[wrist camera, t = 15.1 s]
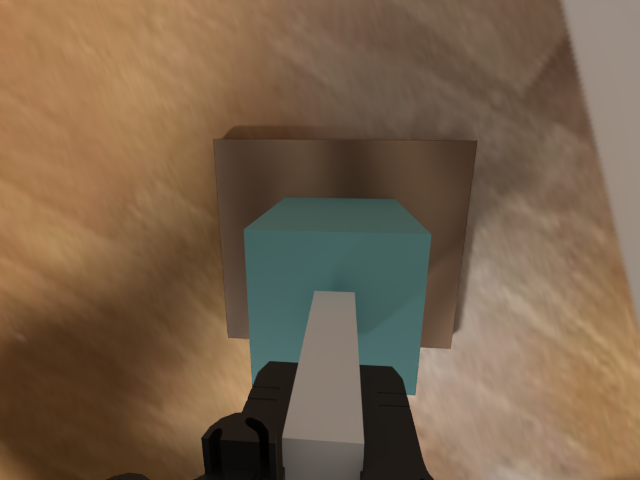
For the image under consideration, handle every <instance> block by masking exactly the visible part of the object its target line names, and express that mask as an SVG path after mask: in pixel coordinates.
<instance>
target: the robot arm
mask: <svg viewBox="0 0 640 480" xmlns="http://www.w3.org/2000/svg"><path fill="white" fill-rule="evenodd" d="M201 440H202V449H203V458H204V467H205V474H204V475H202V476H200V477H198V478H196V479H194V480H434V479H433V478H432V477H431V476H430V474H429V473H428V471H427V469H426V466H425V464H424V461H423V458H422V454H421V450H420V446H419V442H418V438H417V434H416V430H415V426H414V422H413V418H412V414H411V410H410V406H409V402H408V397H407V393H406V389H405V385H404V381H403V379H402V377H401V376H400V375H399V374H398V373H397V371H396V370H395V369H394V368H393V367H392V366H376V365H359V353H358V337H357V321H356V305H355V292H334V291H314V296H313V300H312V305H311V309H310V314H309V318H308V323H307V327H306V332H305V336H304V341H303V345H302V350H301V354H300V359H299V363H297V362H279V361H269V362H268V363H267V364H266V365H265V366H264V367H263V368H262V369H261V370H260V371H259V372H258V373H257V376H256V378H255V381H254V383H253V386H252V389H251V391H250V393H249V396H248V400H247V401H246V403H245V406H244V408H243V411H242V412H241V413H234V414H231V415H229V416H226V417H223V418H221V419H220V420H218V421H217V422H216V423H214V424H213V425H212V426H210V427H209V429H208V430H207V431H206V433H205V434H204V435H203V437H202V438H201ZM107 480H149V479H148V478H146V477H145V476H144V475H142V474H135V473H126V474H122V475H117V476H113V477H111V478H109V479H107Z"/></svg>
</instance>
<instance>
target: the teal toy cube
mask: <svg viewBox="0 0 640 480" xmlns="http://www.w3.org/2000/svg"><path fill="white" fill-rule="evenodd" d="M244 244H245V262H246V281H247V299H248V317H249V336H250V354H251V372H252V386H253V383H254V381H255V378H256V376H257V373H258V372H259V371H260V370H261V369H262V368H263V367H264V366H265V365H266V364H267V363H268V362H269V361H279V362H297V363H299V359H300V354H301V350H302V345H303V341H304V336H305V332H306V327H307V323H308V318H309V314H310V309H311V305H312V300H313V296H314V291H334V292H355V305H356V321H357V337H358V353H359V365H376V366H392V367H393V368H394V369H395V370H396V371H397V373H398V374H399V375H400V376H401V377H402V379H403V381H404V385H405V389H406V393H407V395H415V394H416V384H417V374H418V364H419V354H420V344H421V334H422V324H423V314H424V304H425V294H426V284H427V274H428V264H429V254H430V244H431V233H430V232H428V231H427V230H426V229H425V228H424V227H423V226H422V225H421V224H420V223H419V222H418V221H417V220H416V219H415V218H414V217H413V216H412V215H411V214H410V213H409V212H408V211H407V210H406V209H405V208H404V207H403V206H402V205H401V204H400V203H399V202H398V201H397V200H396V199H355V198H301V197H285V198H284V199H282V200H281V201H280V202H279V203H277V204H276V205H275V206H273V207H272V208H271V209H270V210H268V211H267V212H266V213H264V214H263V215H262V216H261V217H259V218H258V219H257V220H255V221H254V222H253V223H252V224H250V225H249V226H248V227H246V228H245V229H244Z"/></svg>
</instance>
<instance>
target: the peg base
mask: <svg viewBox="0 0 640 480" xmlns="http://www.w3.org/2000/svg"><path fill="white" fill-rule="evenodd" d="M213 143H214V156H215V170H216V183H217V197H218V210H219V224H220V237H221V251H222V264H223V278H224V291H225V305H226V318H227V332H228V338H243V339H250V336H249V317H248V299H247V281H246V262H245V244H244V229H245V228H246V227H248V226H249V225H250V224H252V223H253V222H254V221H255V220H257V219H258V218H259V217H261V216H262V215H263V214H264V213H266V212H267V211H268V210H270V209H271V208H272V207H273V206H275V205H276V204H277V203H279V202H280V201H281V200H282V199H284V198H285V197H301V198H355V199H396V200H397V201H398V202H399V203H400V204H401V205H402V206H403V207H404V208H405V209H406V210H407V211H408V212H409V213H410V214H411V215H412V216H413V217H414V218H415V219H416V220H417V221H418V222H419V223H420V224H421V225H422V226H423V227H424V228H425V229H426V230H427V231H428V232H430V233H431V244H430V254H429V264H428V274H427V284H426V294H425V304H424V314H423V324H422V334H421V344H420V347H425V348H445V349H451V342H452V334H453V326H454V318H455V311H456V303H457V295H458V287H459V279H460V271H461V264H462V256H463V248H464V240H465V232H466V225H467V217H468V209H469V201H470V193H471V186H472V178H473V170H474V162H475V154H476V146H477V141H451V140H284V139H213Z"/></svg>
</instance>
